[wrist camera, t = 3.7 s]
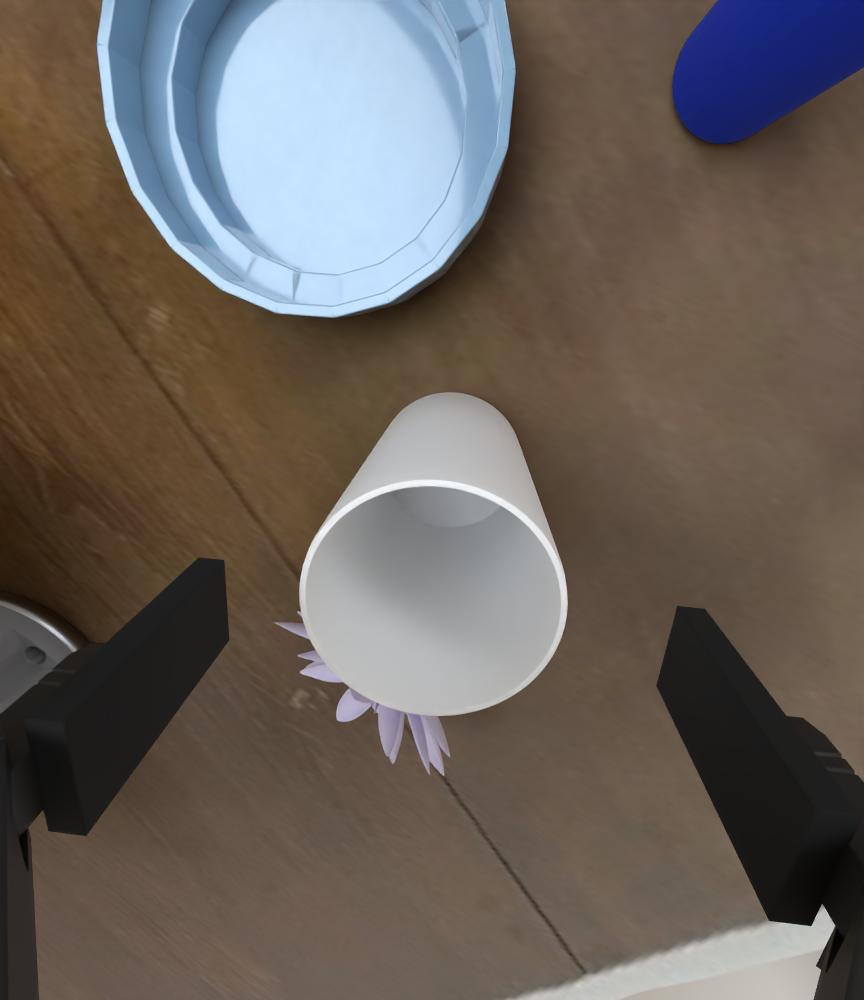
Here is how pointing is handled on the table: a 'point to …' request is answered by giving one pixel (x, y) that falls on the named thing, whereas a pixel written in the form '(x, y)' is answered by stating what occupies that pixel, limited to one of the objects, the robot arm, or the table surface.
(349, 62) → the bowl
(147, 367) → the table surface
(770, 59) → the beverage can
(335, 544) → the cup
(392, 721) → the water lily
